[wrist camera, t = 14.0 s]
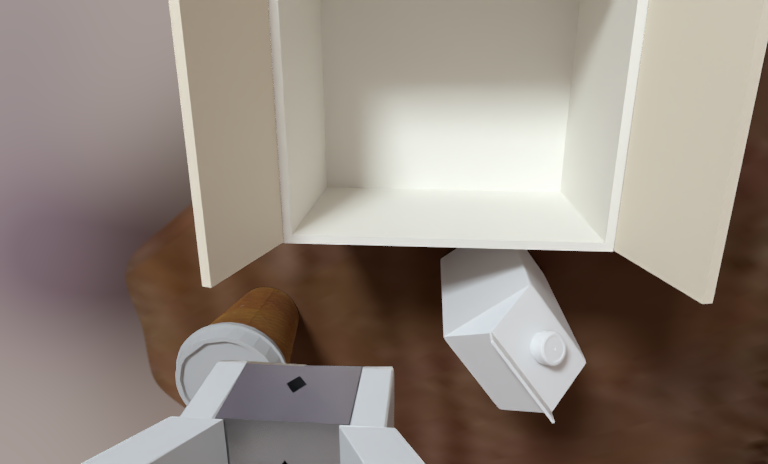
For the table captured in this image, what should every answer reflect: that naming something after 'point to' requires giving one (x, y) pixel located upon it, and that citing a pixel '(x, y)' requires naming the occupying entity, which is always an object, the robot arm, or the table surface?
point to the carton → (454, 120)
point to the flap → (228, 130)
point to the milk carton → (508, 328)
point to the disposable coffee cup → (239, 338)
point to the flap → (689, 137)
